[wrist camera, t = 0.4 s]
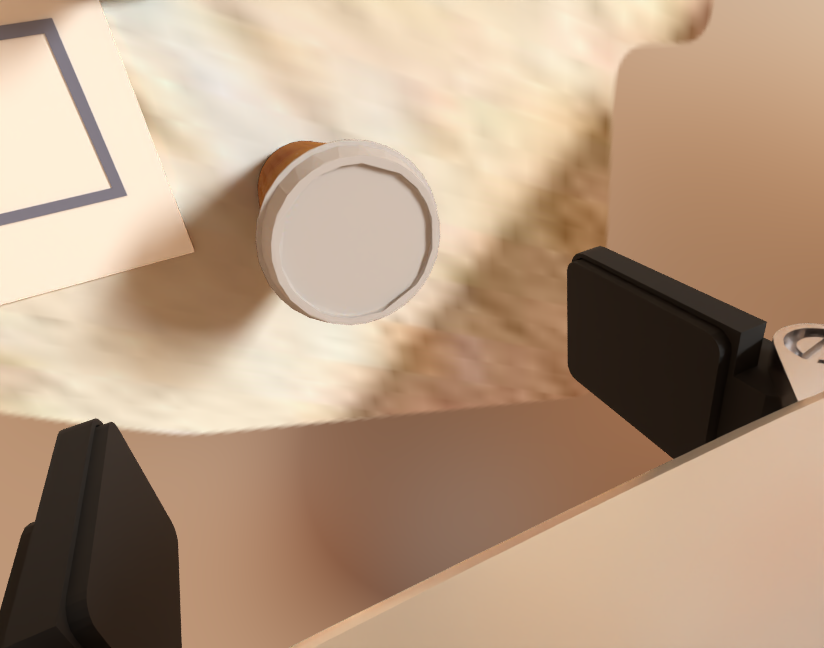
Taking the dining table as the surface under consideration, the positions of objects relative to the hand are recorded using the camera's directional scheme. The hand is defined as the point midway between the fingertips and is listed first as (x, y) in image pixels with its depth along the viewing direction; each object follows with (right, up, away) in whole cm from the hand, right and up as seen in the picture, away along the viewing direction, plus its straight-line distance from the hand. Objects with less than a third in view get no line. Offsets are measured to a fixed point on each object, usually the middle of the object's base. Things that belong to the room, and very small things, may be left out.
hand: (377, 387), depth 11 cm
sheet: (-21, +11, +18) cm, 30 cm away
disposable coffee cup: (-6, +10, +26) cm, 28 cm away
